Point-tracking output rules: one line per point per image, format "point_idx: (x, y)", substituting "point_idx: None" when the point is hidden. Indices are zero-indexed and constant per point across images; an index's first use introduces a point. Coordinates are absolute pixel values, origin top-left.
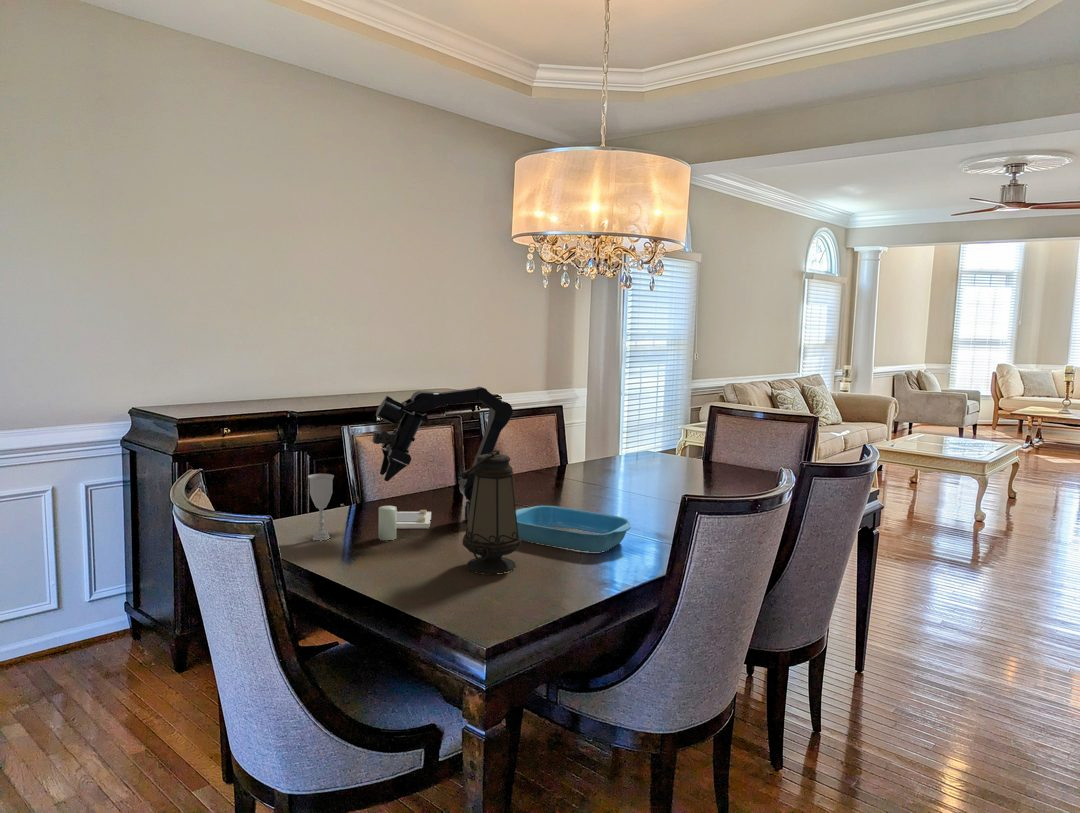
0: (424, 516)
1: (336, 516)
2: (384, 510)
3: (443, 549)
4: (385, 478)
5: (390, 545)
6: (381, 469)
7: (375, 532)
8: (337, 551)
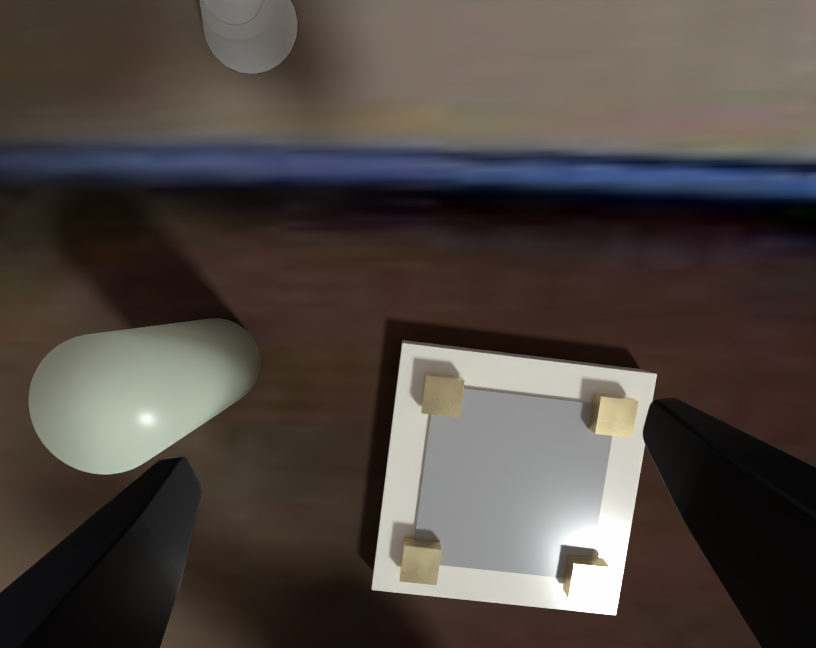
0: (519, 573)
1: (684, 92)
2: (35, 377)
3: None
4: (140, 488)
5: None
6: (707, 448)
7: (334, 304)
8: (20, 116)
